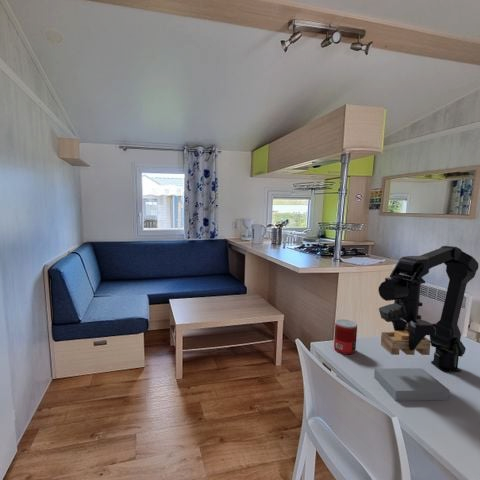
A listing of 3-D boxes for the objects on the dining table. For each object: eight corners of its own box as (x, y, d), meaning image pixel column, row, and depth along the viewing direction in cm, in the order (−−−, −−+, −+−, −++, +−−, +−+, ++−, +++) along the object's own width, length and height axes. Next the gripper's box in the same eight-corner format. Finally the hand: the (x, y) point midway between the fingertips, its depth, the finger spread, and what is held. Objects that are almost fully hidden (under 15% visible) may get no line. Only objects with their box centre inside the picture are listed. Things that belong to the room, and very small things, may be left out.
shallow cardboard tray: (416, 345, 99) (417, 332, 99) (429, 354, 92) (430, 340, 92) (380, 344, 98) (381, 331, 98) (391, 354, 92) (392, 340, 91)
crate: (409, 336, 97) (409, 330, 97) (416, 341, 93) (417, 335, 93) (394, 336, 97) (394, 330, 97) (400, 341, 93) (401, 335, 93)
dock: (421, 376, 98) (422, 368, 98) (448, 399, 86) (449, 390, 86) (374, 377, 97) (374, 368, 97) (395, 400, 86) (396, 390, 85)
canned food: (357, 356, 112) (359, 327, 111) (334, 353, 113) (336, 325, 112) (353, 347, 119) (355, 320, 118) (332, 344, 121) (334, 318, 120)
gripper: (369, 289, 103) (366, 333, 104) (401, 306, 84) (396, 359, 86) (401, 289, 103) (397, 333, 105) (439, 307, 85) (434, 359, 86)
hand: (404, 345), depth 95 cm, fingers closed on shallow cardboard tray, 7 cm apart
